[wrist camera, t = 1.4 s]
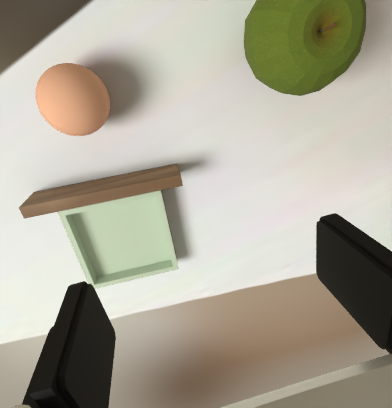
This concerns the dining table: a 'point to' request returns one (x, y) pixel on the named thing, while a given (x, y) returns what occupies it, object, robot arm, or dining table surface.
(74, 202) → the board
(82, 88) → the ball
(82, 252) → the tray
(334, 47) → the apple
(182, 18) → the dining table surface
